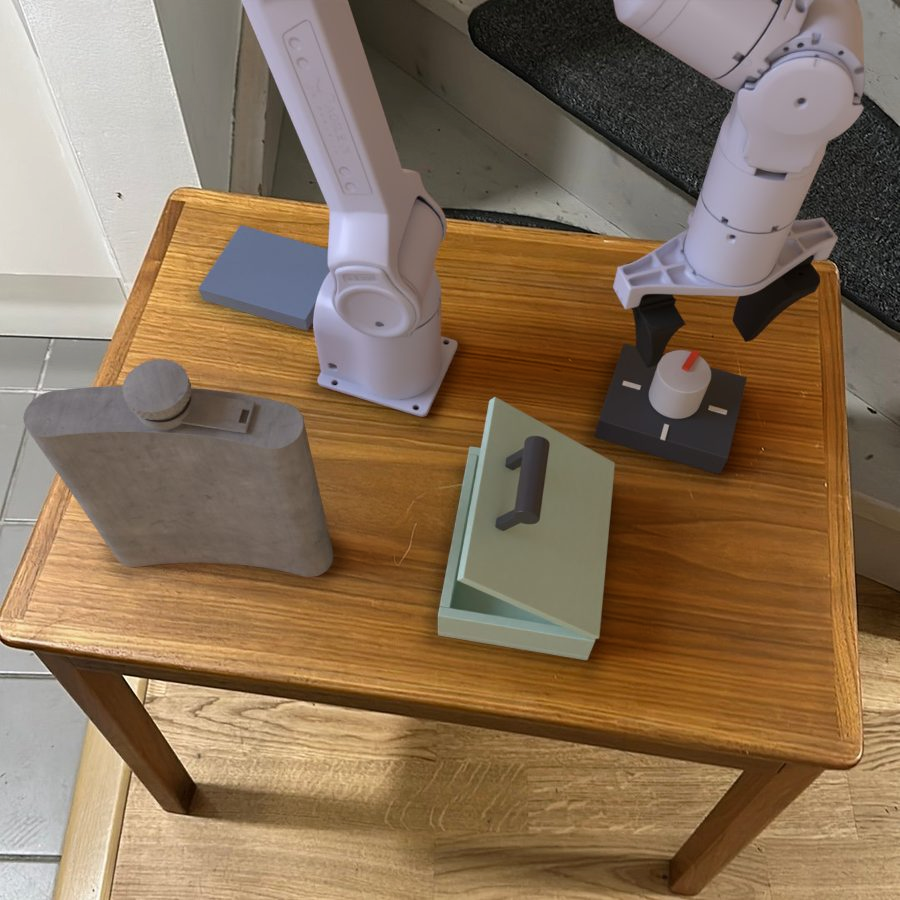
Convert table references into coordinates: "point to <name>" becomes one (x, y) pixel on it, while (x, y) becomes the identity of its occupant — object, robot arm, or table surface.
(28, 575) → the table surface
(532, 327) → the table surface
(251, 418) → the hip flask
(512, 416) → the box lid
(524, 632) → the open box
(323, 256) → the flat blue-gray rectangular slab
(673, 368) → the dial
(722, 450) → the console
